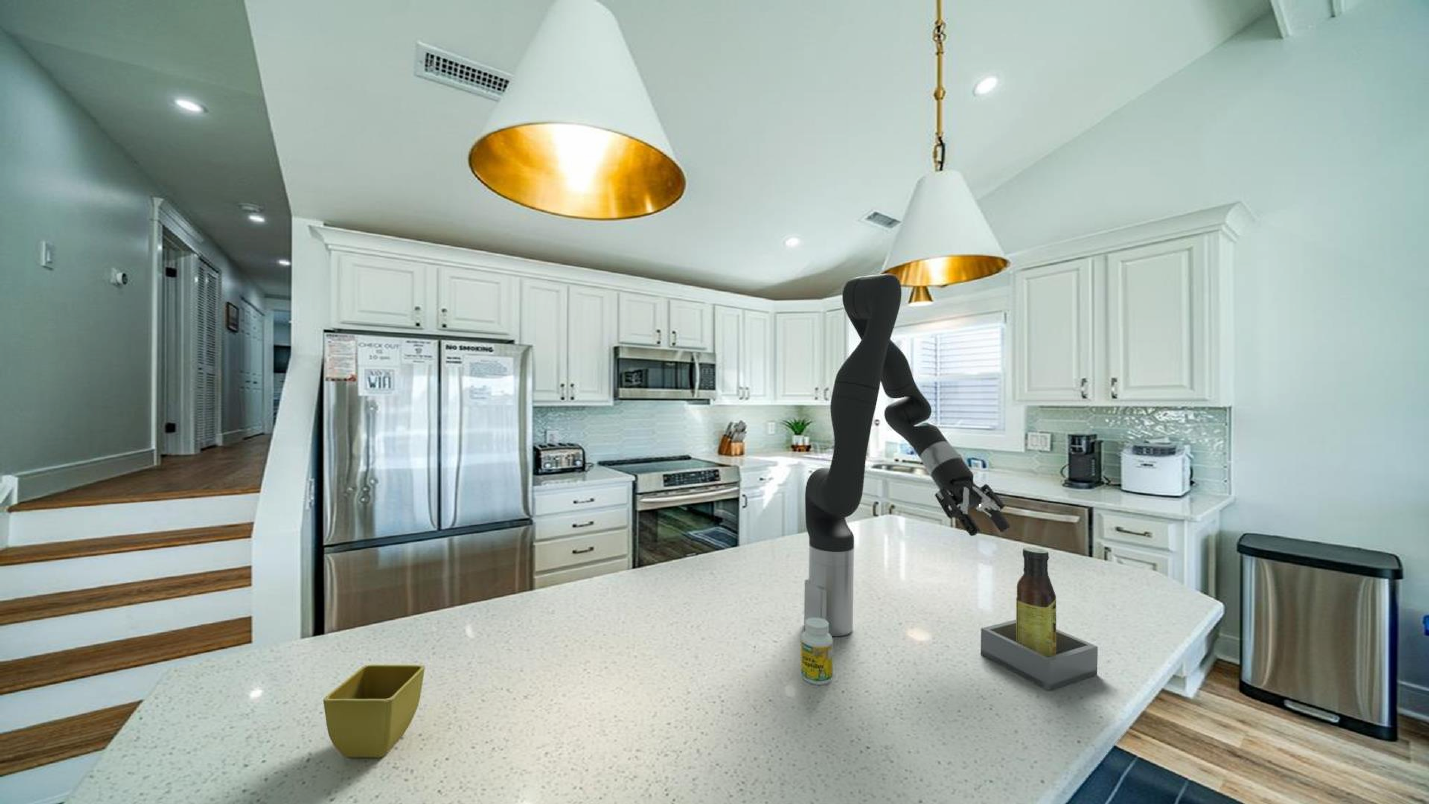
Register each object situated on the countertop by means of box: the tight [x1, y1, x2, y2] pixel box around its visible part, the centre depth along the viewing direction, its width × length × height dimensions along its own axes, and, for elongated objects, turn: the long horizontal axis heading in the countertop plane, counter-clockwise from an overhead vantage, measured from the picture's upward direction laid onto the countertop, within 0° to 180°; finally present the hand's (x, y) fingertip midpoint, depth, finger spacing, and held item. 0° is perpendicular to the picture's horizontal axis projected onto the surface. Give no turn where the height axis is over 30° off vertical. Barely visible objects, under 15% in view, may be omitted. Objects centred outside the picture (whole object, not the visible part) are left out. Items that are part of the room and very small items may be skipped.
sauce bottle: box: [1015, 546, 1057, 657], centre depth 94 cm, size 6×6×20 cm
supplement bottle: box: [800, 618, 834, 686], centre depth 88 cm, size 5×5×10 cm
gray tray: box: [980, 619, 1099, 692], centre depth 93 cm, size 13×13×5 cm
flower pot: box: [322, 664, 426, 758], centre depth 70 cm, size 9×9×9 cm
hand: (991, 531), depth 102 cm, fingers open, 8 cm apart
